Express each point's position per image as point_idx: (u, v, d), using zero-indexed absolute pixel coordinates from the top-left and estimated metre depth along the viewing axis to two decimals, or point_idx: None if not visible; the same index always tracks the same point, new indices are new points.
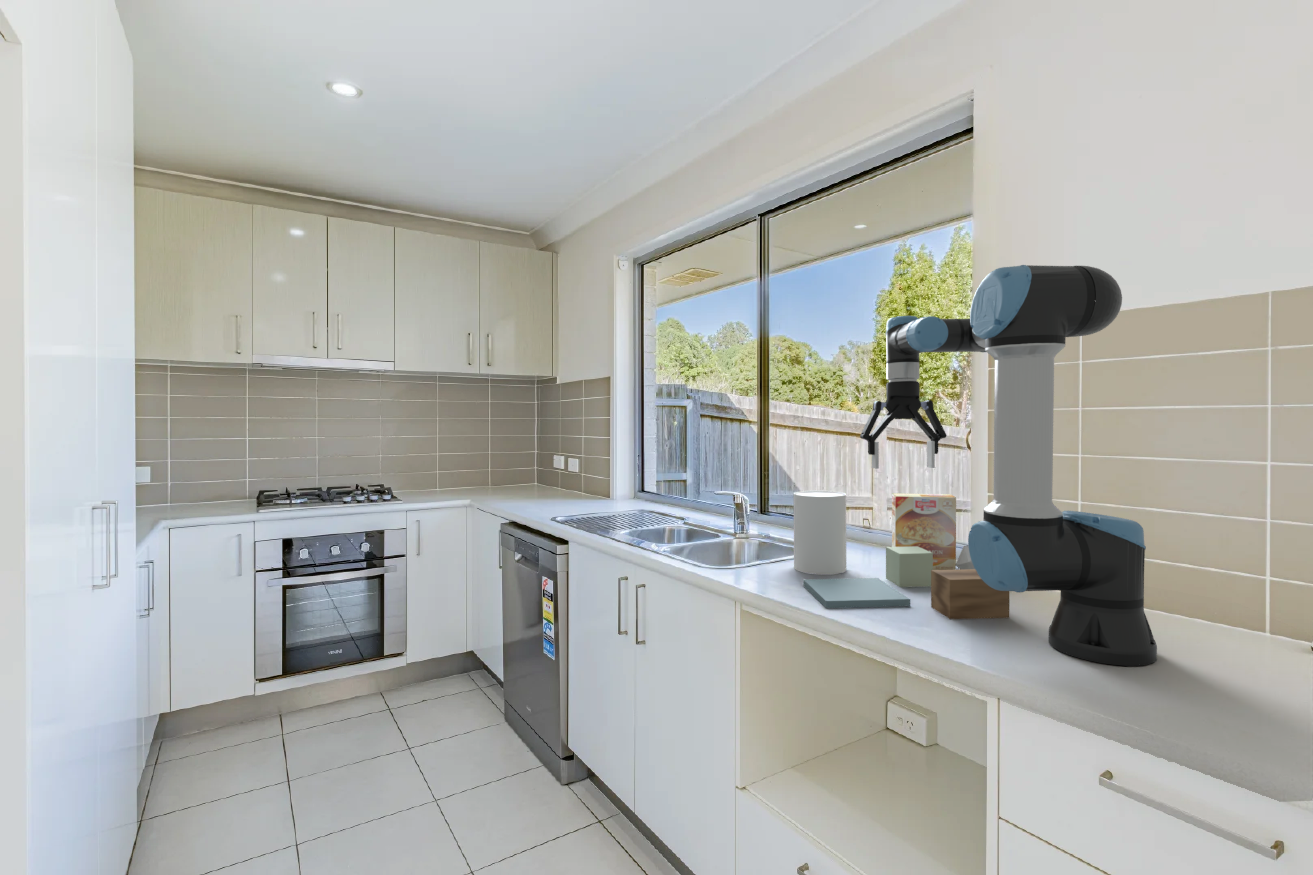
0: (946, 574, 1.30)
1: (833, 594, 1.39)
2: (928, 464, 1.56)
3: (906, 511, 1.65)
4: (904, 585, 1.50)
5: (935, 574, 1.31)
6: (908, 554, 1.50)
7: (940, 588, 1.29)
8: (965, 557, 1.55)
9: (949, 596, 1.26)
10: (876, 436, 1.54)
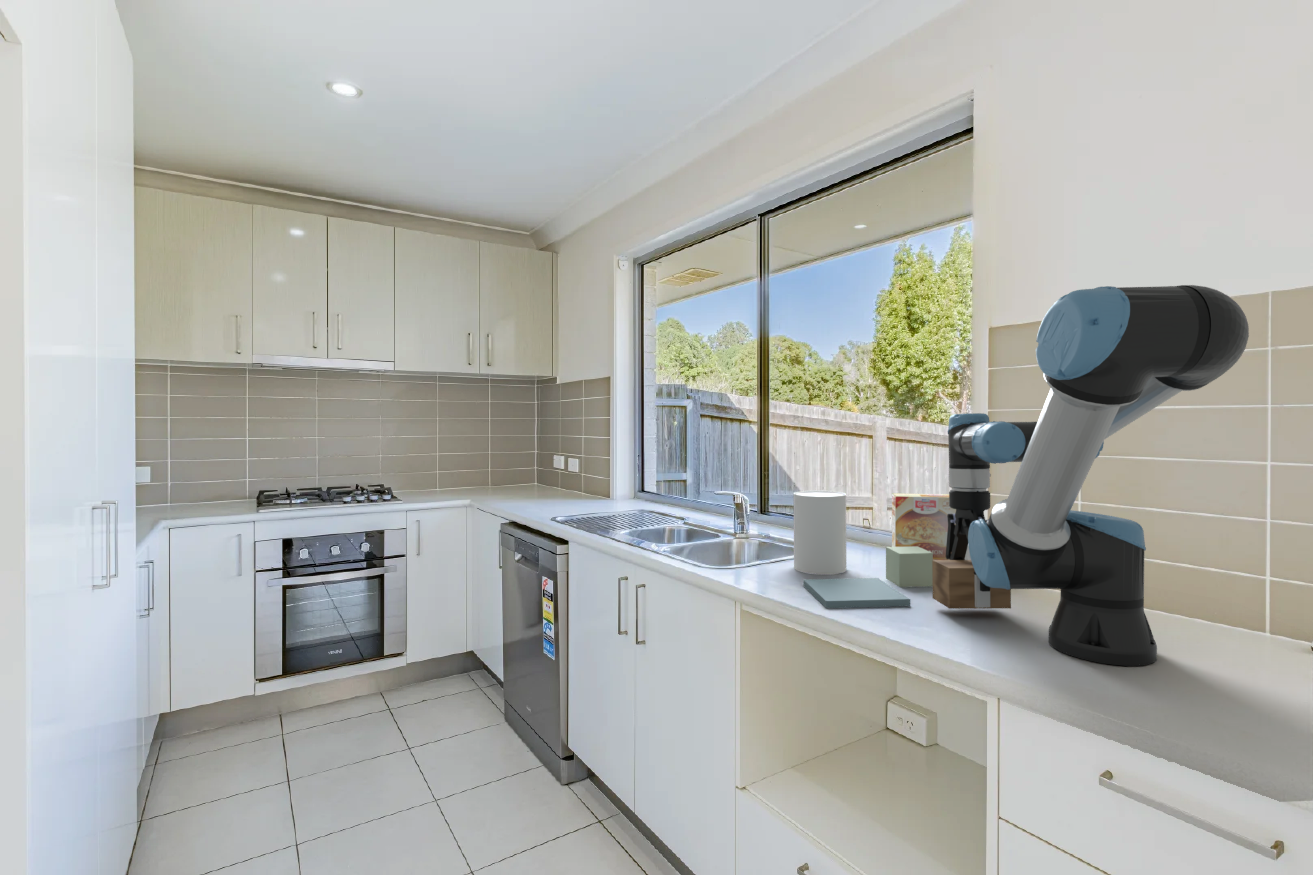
0: (947, 563, 1.29)
1: (833, 594, 1.39)
2: None
3: (906, 511, 1.65)
4: (904, 585, 1.50)
5: (936, 564, 1.31)
6: (908, 554, 1.50)
7: (940, 577, 1.29)
8: (965, 557, 1.55)
9: (948, 584, 1.25)
10: (952, 557, 1.34)
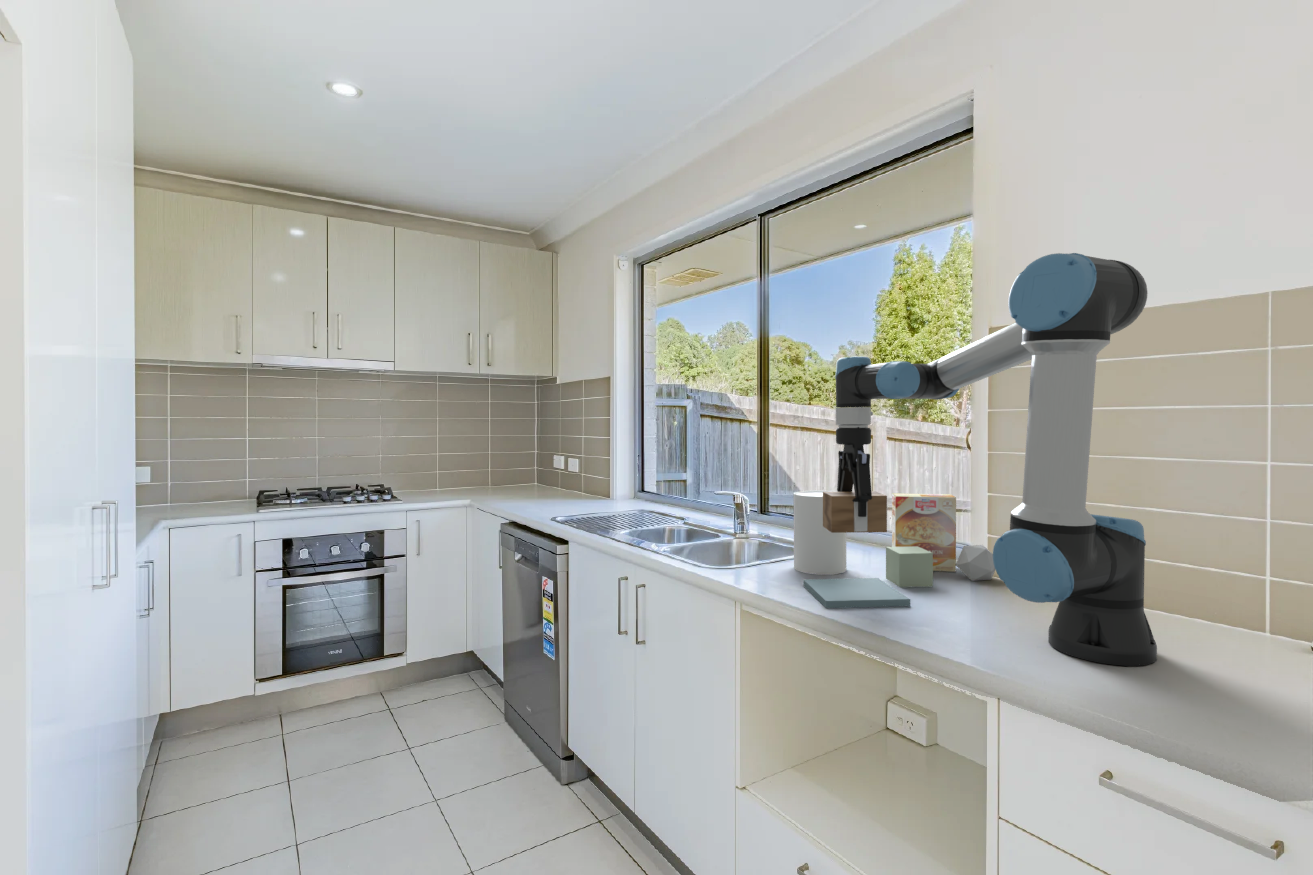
0: (833, 493, 1.43)
1: (833, 594, 1.39)
2: None
3: (906, 511, 1.65)
4: (904, 585, 1.50)
5: (824, 494, 1.45)
6: (908, 554, 1.50)
7: (827, 506, 1.43)
8: (965, 557, 1.55)
9: (831, 511, 1.39)
10: (841, 489, 1.47)
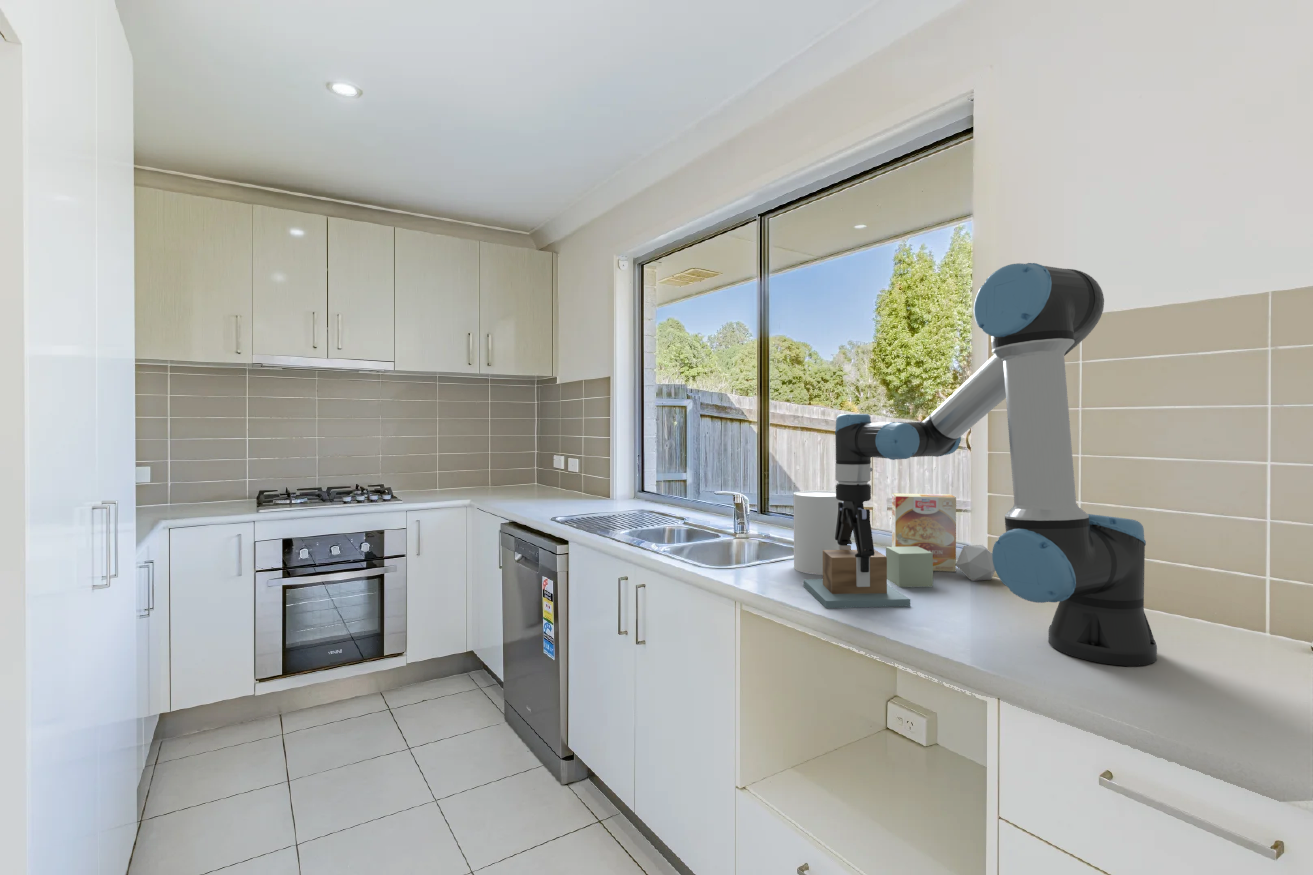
0: (833, 553, 1.43)
1: (833, 594, 1.39)
2: None
3: (906, 511, 1.65)
4: (904, 585, 1.50)
5: (824, 553, 1.45)
6: (908, 554, 1.50)
7: (827, 566, 1.43)
8: (965, 557, 1.55)
9: (831, 572, 1.39)
10: (839, 539, 1.49)
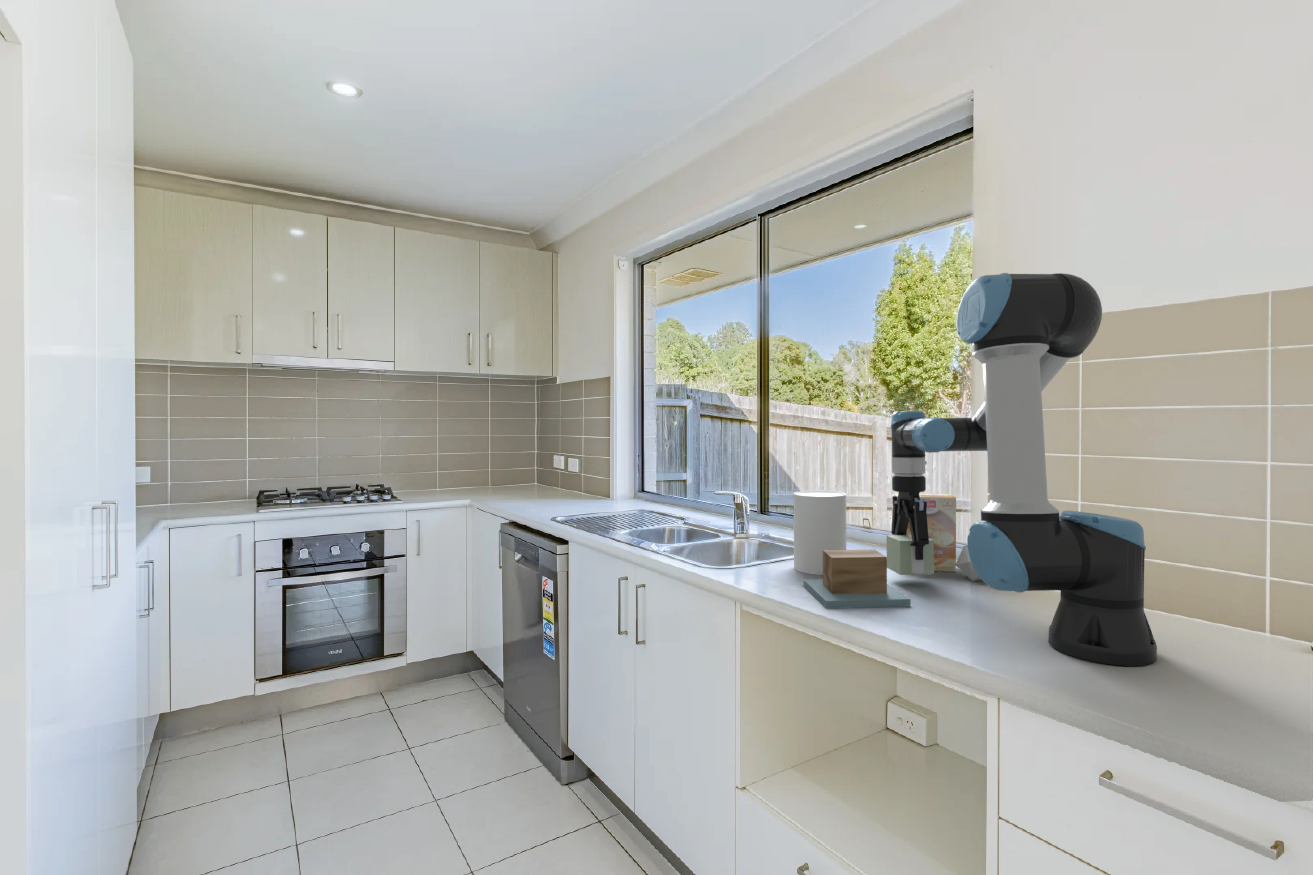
0: (833, 553, 1.43)
1: (833, 594, 1.39)
2: None
3: None
4: (905, 572, 1.49)
5: (824, 553, 1.45)
6: (909, 541, 1.49)
7: (827, 566, 1.43)
8: (965, 557, 1.55)
9: (831, 572, 1.39)
10: (896, 532, 1.58)
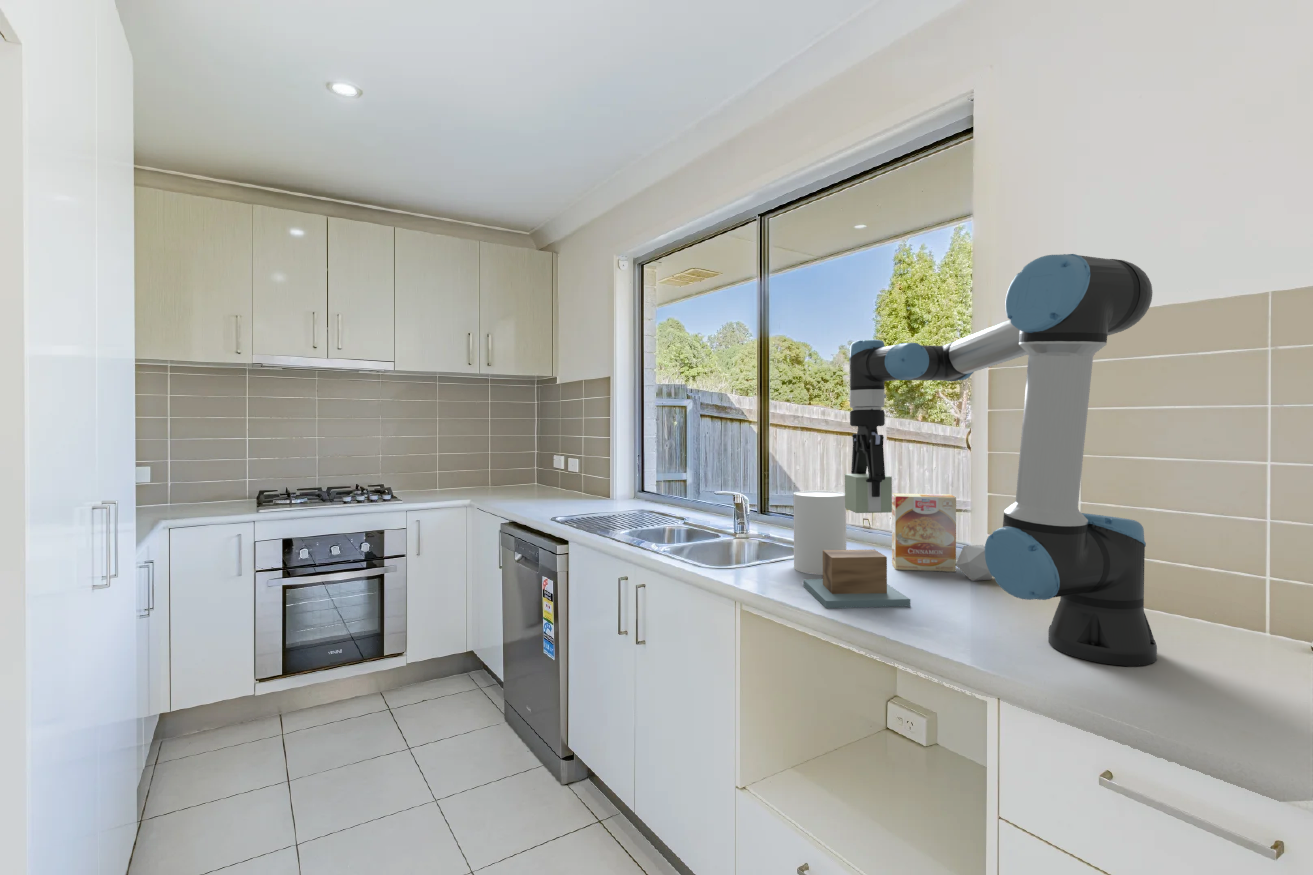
0: (833, 553, 1.43)
1: (833, 594, 1.39)
2: None
3: (906, 511, 1.65)
4: (861, 511, 1.41)
5: (824, 553, 1.45)
6: (865, 478, 1.41)
7: (827, 566, 1.43)
8: (965, 557, 1.55)
9: (831, 572, 1.39)
10: (855, 471, 1.50)
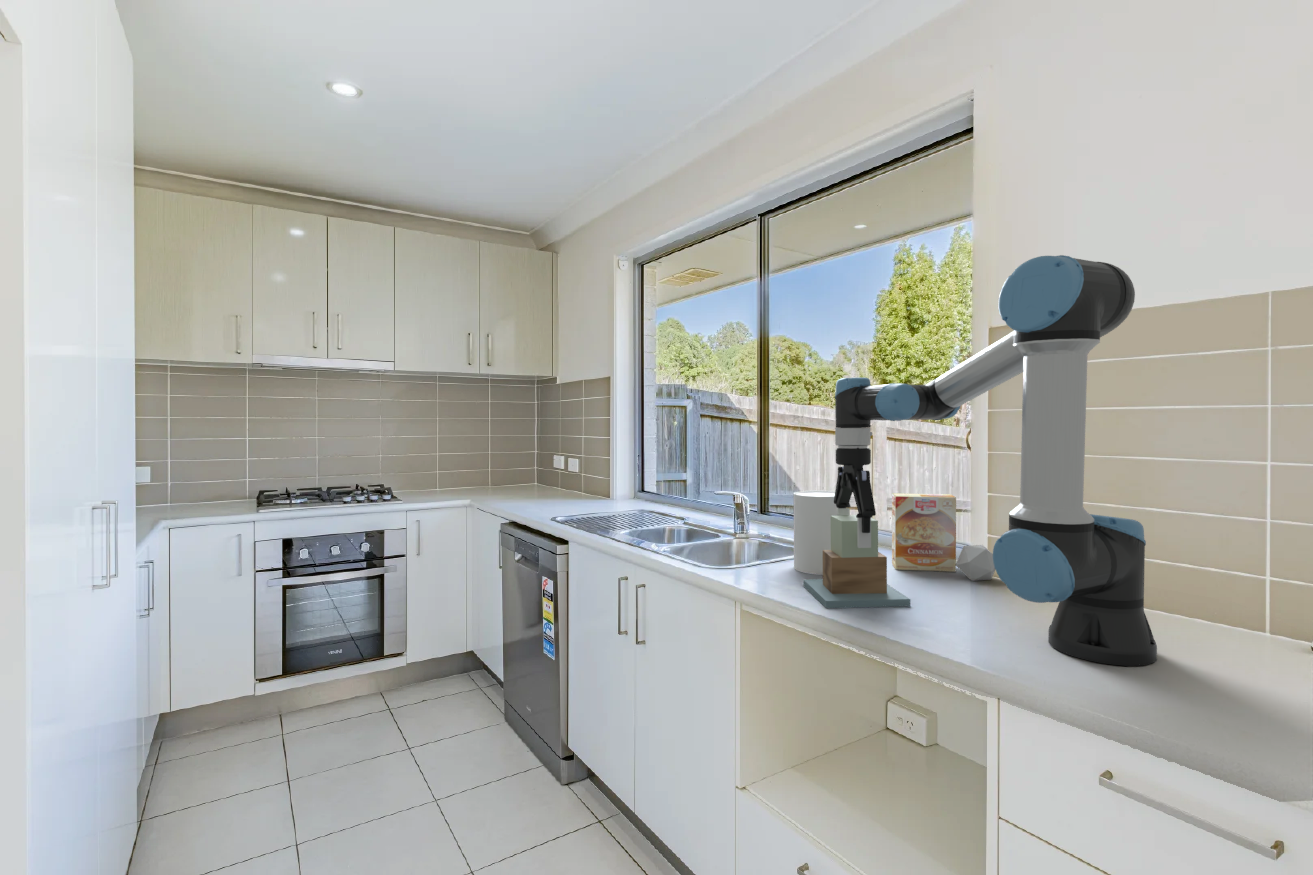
0: (833, 553, 1.43)
1: (833, 594, 1.39)
2: None
3: (906, 511, 1.65)
4: (847, 555, 1.39)
5: (824, 553, 1.45)
6: (851, 522, 1.39)
7: (827, 566, 1.43)
8: (965, 557, 1.55)
9: (831, 572, 1.39)
10: (838, 502, 1.49)
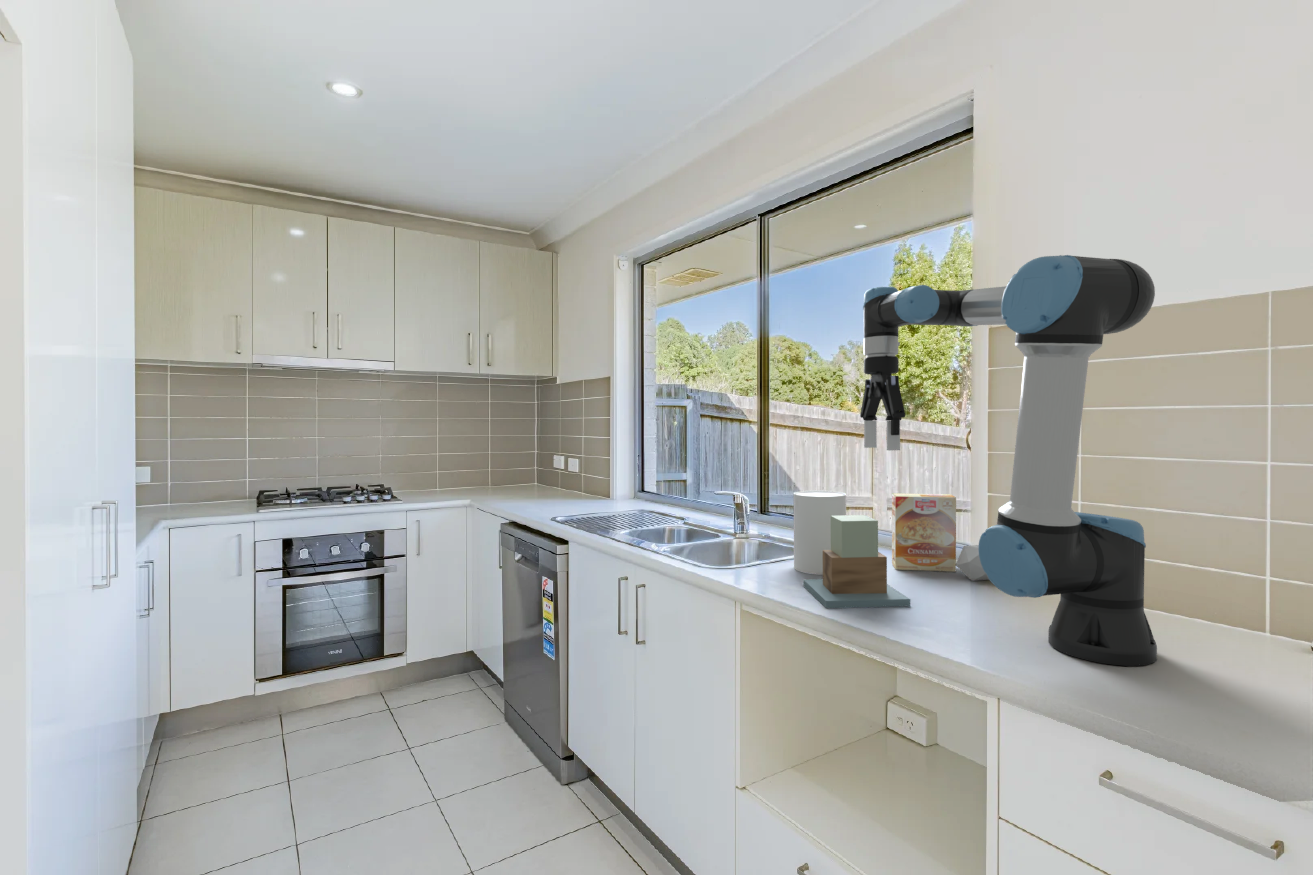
0: (833, 553, 1.43)
1: (833, 594, 1.39)
2: None
3: (906, 511, 1.65)
4: (847, 555, 1.39)
5: (824, 553, 1.45)
6: (851, 522, 1.39)
7: (827, 566, 1.43)
8: (965, 557, 1.55)
9: (831, 572, 1.39)
10: (865, 415, 1.53)
